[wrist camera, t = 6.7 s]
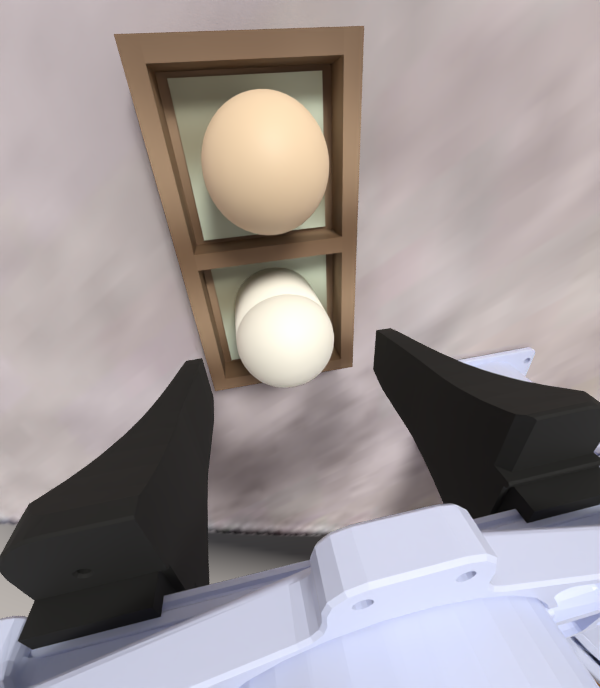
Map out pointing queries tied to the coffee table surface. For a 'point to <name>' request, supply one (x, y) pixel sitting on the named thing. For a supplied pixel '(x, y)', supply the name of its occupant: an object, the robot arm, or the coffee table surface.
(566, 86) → the coffee table surface
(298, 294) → the cream egg
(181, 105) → the egg crate
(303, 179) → the brown egg
